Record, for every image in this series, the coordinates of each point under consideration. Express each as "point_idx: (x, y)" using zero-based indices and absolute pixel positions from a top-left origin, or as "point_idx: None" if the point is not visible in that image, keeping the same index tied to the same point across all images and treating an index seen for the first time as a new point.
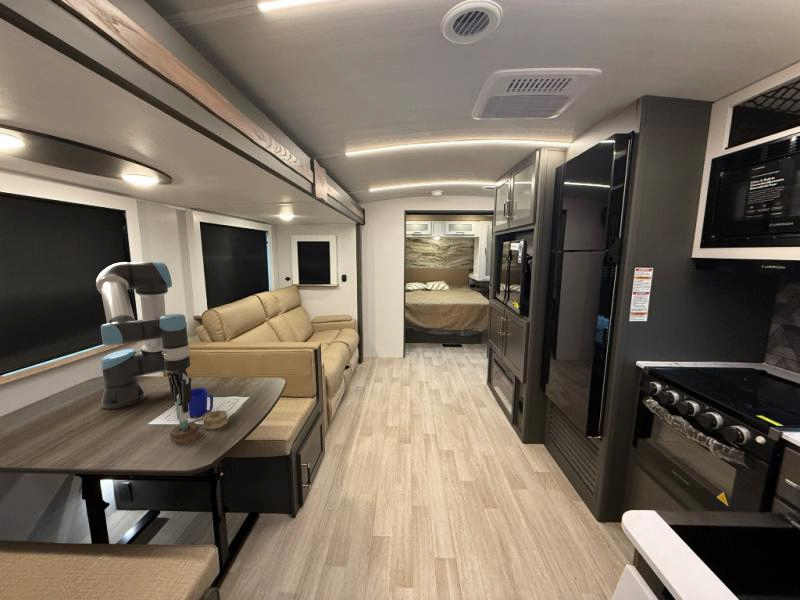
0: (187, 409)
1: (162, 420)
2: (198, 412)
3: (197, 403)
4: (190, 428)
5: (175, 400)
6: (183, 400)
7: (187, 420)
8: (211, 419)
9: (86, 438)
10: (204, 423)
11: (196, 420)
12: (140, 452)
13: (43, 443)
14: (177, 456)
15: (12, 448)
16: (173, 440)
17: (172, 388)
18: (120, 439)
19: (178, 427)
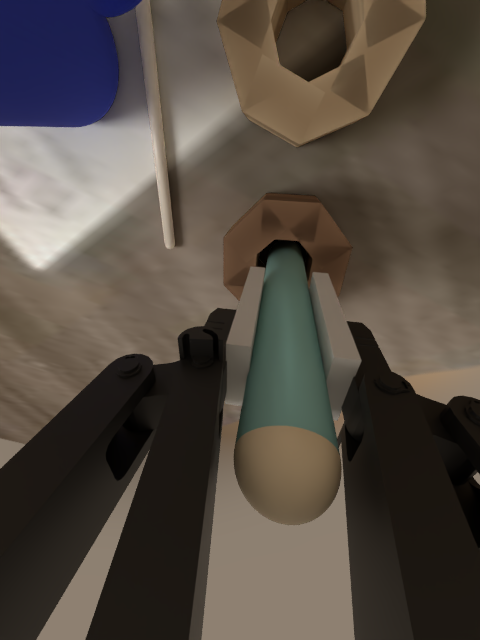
0: (372, 345)
1: (38, 226)
2: (107, 71)
3: (52, 46)
4: (317, 252)
5: (221, 416)
6: (475, 520)
7: (302, 273)
8: (348, 93)
9: (41, 382)
10: (303, 143)
11: (161, 120)
12: None
13: (14, 416)
14: (389, 335)
15: (6, 436)
16: None
17: (71, 563)
18: (107, 355)
19: (245, 277)
